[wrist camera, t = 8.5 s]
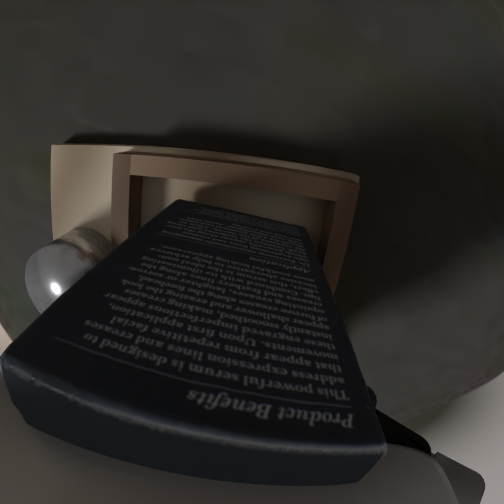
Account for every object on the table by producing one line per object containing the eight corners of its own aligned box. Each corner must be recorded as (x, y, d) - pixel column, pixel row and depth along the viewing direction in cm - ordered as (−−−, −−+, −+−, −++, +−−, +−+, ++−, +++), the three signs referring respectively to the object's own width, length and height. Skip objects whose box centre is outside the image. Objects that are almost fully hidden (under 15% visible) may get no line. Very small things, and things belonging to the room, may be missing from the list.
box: (265, 368, 16) (259, 569, 6) (157, 344, 16) (80, 528, 6) (310, 223, 13) (403, 458, 3) (175, 193, 13) (-20, 357, 3)
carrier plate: (353, 173, 14) (384, 188, 10) (302, 378, 18) (308, 429, 14) (62, 143, 13) (12, 151, 10) (77, 338, 18) (47, 376, 14)
